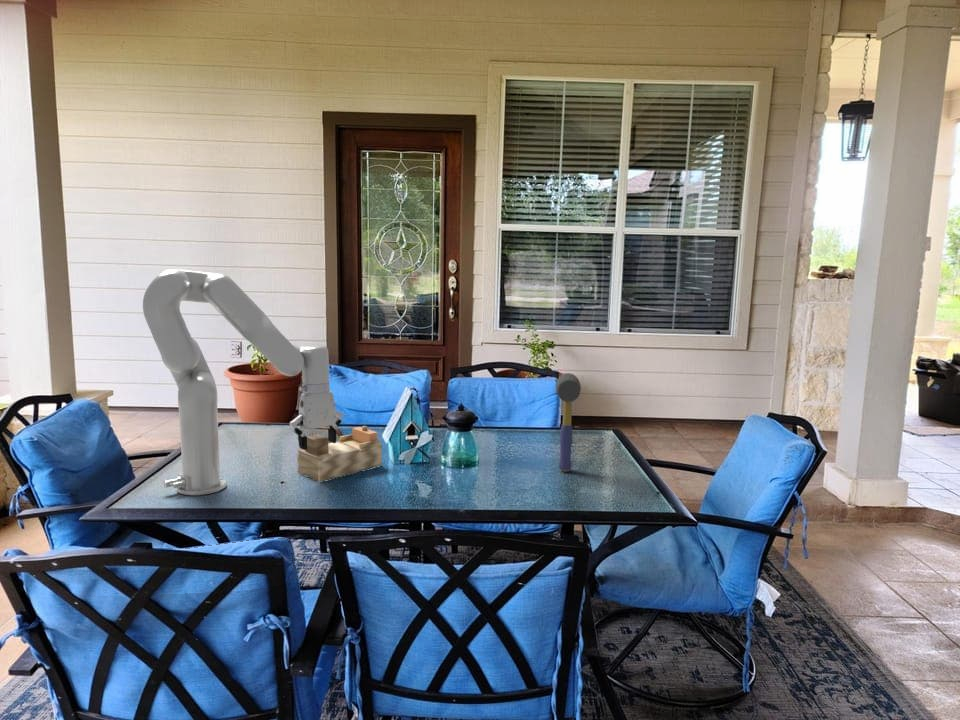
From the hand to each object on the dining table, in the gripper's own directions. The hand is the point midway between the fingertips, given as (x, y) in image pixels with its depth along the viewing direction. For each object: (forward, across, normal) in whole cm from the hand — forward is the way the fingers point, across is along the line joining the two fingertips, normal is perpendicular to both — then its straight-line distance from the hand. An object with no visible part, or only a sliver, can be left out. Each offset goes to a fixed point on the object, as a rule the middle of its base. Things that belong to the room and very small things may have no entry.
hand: (318, 445), depth 192 cm
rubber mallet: (+10, +58, -47) cm, 75 cm away
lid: (+3, +4, 0) cm, 5 cm away
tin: (+10, +15, +22) cm, 28 cm away
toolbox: (+9, +8, 0) cm, 12 cm away
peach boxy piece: (+2, +17, 0) cm, 17 cm away
